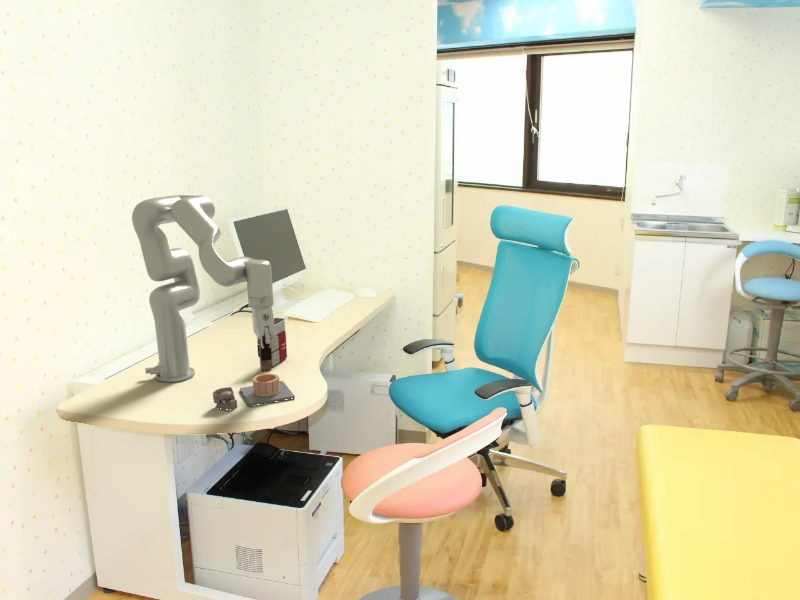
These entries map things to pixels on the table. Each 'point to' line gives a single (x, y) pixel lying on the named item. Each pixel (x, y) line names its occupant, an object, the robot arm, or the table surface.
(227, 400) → the dental mold
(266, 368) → the wooden capsule dowel
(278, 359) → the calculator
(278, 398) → the board
